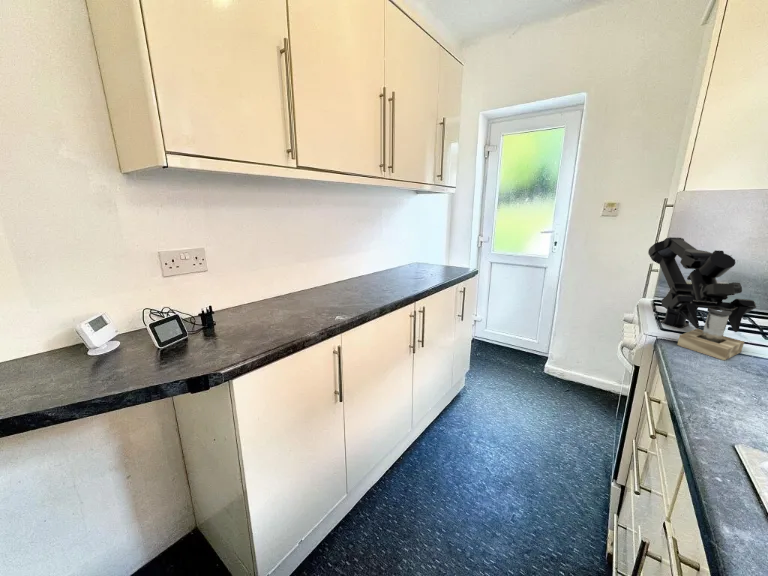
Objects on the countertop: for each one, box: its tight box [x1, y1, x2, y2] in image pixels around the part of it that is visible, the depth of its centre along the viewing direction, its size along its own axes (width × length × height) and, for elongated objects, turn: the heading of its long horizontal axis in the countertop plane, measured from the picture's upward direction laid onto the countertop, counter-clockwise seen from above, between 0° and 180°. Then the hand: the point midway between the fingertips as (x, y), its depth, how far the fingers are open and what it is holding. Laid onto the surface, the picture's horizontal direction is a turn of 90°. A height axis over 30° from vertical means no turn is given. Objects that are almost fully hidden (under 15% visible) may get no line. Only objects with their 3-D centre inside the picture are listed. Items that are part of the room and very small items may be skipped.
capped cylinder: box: [701, 307, 732, 343], centre depth 96 cm, size 5×5×13 cm
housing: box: [676, 328, 745, 361], centre depth 97 cm, size 11×11×4 cm
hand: (716, 329), depth 95 cm, fingers open, 9 cm apart
